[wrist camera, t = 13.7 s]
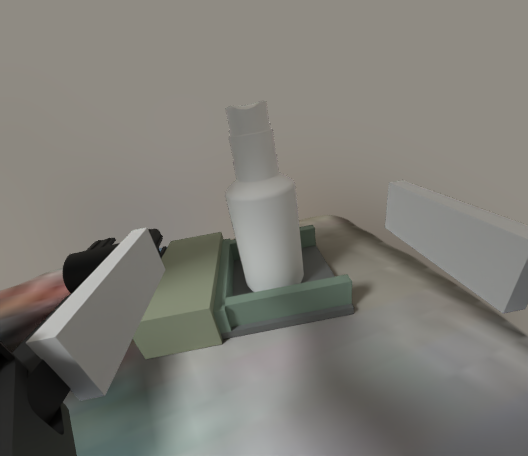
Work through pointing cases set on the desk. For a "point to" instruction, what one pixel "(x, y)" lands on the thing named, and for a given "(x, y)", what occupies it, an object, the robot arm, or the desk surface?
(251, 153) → the spray bottle
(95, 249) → the end cap
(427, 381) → the desk surface
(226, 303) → the chute bracket
